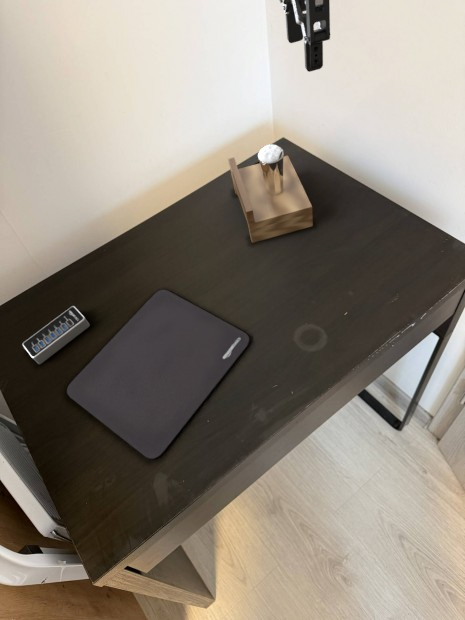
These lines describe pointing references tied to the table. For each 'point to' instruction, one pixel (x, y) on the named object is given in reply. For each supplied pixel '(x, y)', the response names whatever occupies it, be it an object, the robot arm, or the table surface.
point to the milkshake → (272, 168)
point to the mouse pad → (157, 371)
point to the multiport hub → (56, 335)
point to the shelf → (271, 201)
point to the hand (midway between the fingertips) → (304, 54)
